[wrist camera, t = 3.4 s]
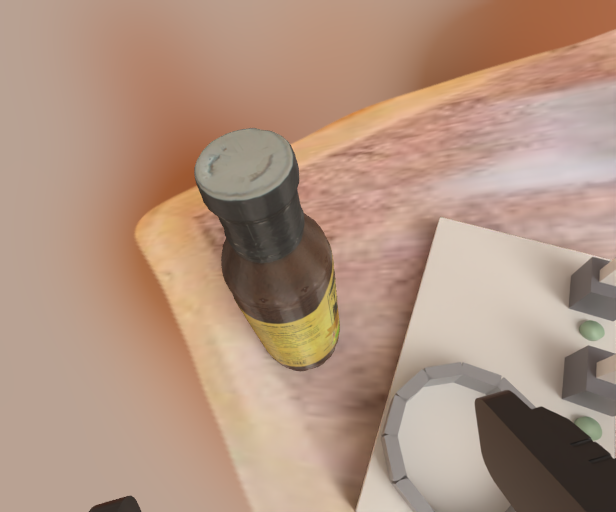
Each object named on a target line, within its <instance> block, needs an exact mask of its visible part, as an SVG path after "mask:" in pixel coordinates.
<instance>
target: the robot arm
mask: <svg viewBox="0 0 616 512" xmlns="http://www.w3.org/2000/svg"><path fill="white" fill-rule="evenodd" d="M475 412H476V419H477V426H478V433H479V440H480V447H481V453H482V457H483V460H484V462H485V465H486V467H487V469H488V472H489V474H490V475H491V477H492V479H493V480H494V482H495V483H496V485H497V486H498V488H499V489H500V490H501V492H502V493H503V495H504V496H505V497H506V499H507V500H508V501H509V503H510V504H511V506H512V507H513V508H514V510H515V511H516V512H616V458H613V457H612V456H611V454H610V453H609V452H608V451H607V450H605V449H604V448H603V447H602V446H601V445H599V444H598V443H597V442H596V441H595V442H593V441H592V439H591V437H590V436H589V435H587V434H586V433H585V432H584V431H583V430H581V429H580V428H579V427H578V426H577V425H575V424H574V423H573V422H572V421H570V420H569V419H568V418H566V417H563V416H561V415H559V414H557V413H555V412H553V411H551V410H548V409H546V408H544V407H542V406H541V407H537V408H534V409H531V408H530V407H529V406H528V405H526V404H525V403H524V402H523V401H522V400H521V399H520V398H519V397H518V396H517V395H515V394H514V393H513V392H512V391H510V390H504V391H500V392H497V393H493V394H490V395H486V396H483V397H479V398H476V399H475ZM89 512H141V510H140V507H139V505H138V503H137V501H136V499H135V498H134V497H132V496H126V497H123V498H119V499H116V500H112V501H109V502H105V503H102V504H99V505H96V506H94V507H92V508H91V510H90V511H89Z"/></svg>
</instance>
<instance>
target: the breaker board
mask: <svg viewBox="0 0 616 512" xmlns="http://www.w3.org/2000/svg"><path fill="white" fill-rule="evenodd" d="M504 390H510V391H512V392H513V393H514V394H515V395H517V396H518V397H519V398H520V399H521V400H522V401H523V402H524V403H525V404H526V405H528V406H529V407H530V408H531V409H534V408H537V407H541V406H542V407H544V408H546V409H548V410H551V411H553V412H555V413H557V414H559V415H561V416H563V417H566V418H568V419H569V420H570V421H572V422H573V423H574V424H575V425H577V426H578V427H579V428H580V429H581V430H583V431H584V432H585V433H586V434H587V435H589V436H590V437H591V439H592V441H593V442H595V441H596V442H597V443H598V444H599V445H601V446H602V447H603V448H604V449H605V450H607V451H608V452H609V453H610V454H611V456H612V457H613V458H615V417H616V258H614V259H613V260H610V259H606V258H602V257H598V256H594V255H590V254H586V253H582V252H578V251H574V250H570V249H566V248H562V247H558V246H554V245H550V244H546V243H542V242H538V241H534V240H530V239H526V238H522V237H518V236H514V235H510V234H506V233H502V232H498V231H494V230H491V229H487V228H483V227H479V226H475V225H471V224H467V223H463V222H459V221H455V220H451V219H447V218H443V217H440V219H439V222H438V225H437V227H436V230H435V234H434V237H433V241H432V244H431V248H430V251H429V255H428V258H427V262H426V265H425V269H424V272H423V276H422V279H421V283H420V286H419V290H418V293H417V296H416V300H415V303H414V307H413V310H412V314H411V317H410V321H409V324H408V328H407V331H406V335H405V338H404V342H403V345H402V349H401V352H400V356H399V359H398V363H397V366H396V370H395V373H394V377H393V380H392V384H391V387H390V391H389V394H388V398H387V401H386V405H385V408H384V412H383V415H382V419H381V422H380V426H379V429H378V433H377V436H376V440H375V443H374V446H373V450H372V453H371V457H370V460H369V464H368V467H367V471H366V474H365V478H364V481H363V485H362V488H361V492H360V495H359V499H358V502H357V506H356V509H355V512H516V511H515V510H514V508H513V507H512V506H511V504H510V503H509V501H508V500H507V499H506V497H505V496H504V495H503V493H502V492H501V490H500V489H499V488H498V486H497V485H496V483H495V482H494V480H493V479H492V477H491V475H490V474H489V472H488V469H487V467H486V465H485V462H484V460H483V457H482V453H481V447H480V440H479V433H478V426H477V419H476V412H475V399H476V398H479V397H483V396H486V395H490V394H493V393H497V392H500V391H504Z"/></svg>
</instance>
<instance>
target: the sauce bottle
mask: <svg viewBox="0 0 616 512" xmlns="http://www.w3.org/2000/svg"><path fill="white" fill-rule="evenodd" d="M195 180H196V183H197V186H198V188H199V191H200V193H201V196H202V198H203V202H204V203H205V204H206V206H207V207H208V209H209V210H210V211H212V212H213V213H214V214H215V215H217V216H218V217H219V220H220V222H221V224H222V226H223V227H224V233H225V236H226V240H225V242H224V244H223V250H222V259H221V261H222V271H223V276H224V279H225V282H226V284H227V285H228V287H229V289H230V291H231V292H232V293H233V296H234V299H235V301H236V303H237V304H238V306H239V308H240V309H241V311H242V312H243V314H244V316H245V317H246V319H247V320H248V322H249V323H250V325H251V327H252V328H253V330H254V331H255V333H256V334H257V336H258V337H259V339H260V341H261V342H262V344H263V345H264V347H265V348H266V350H267V351H268V353H269V354H270V355H271V356H272V357H273V358H274V359H275V360H276V361H277V362H279V363H280V364H282V365H283V366H285V367H287V368H290V369H293V370H296V371H305V370H308V369H312V368H315V367H318V366H320V365H322V364H323V363H324V362H325V361H326V360H327V359H328V358H329V357H330V356H331V355H332V353H333V352H334V349H335V346H336V344H337V341H338V336H339V331H340V324H339V314H338V305H337V294H336V284H335V271H334V261H333V255H332V250H331V247H330V244H329V242H328V240H327V238H326V236H325V234H324V232H323V231H322V229H321V228H320V226H319V225H318V224H317V223H316V222H315V221H314V220H313V219H311V218H310V217H309V216H307V215H306V214H304V213H303V210H302V208H301V205H300V201H299V197H298V191H297V187H298V184H299V168H298V163H297V160H296V157H295V154H294V152H293V149H292V147H291V145H290V144H289V142H288V141H287V140H286V139H285V138H283V137H282V136H280V135H279V134H277V133H275V132H272V131H266V130H260V129H256V128H249V129H242V130H237V131H233V132H230V133H228V134H225V135H223V136H221V137H219V138H218V139H216V140H214V141H212V142H211V143H210V144H209V145H208V146H207V147H206V148H205V149H204V150H203V151H202V153H201V155H200V156H199V158H198V159H197V162H196V165H195Z"/></svg>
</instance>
